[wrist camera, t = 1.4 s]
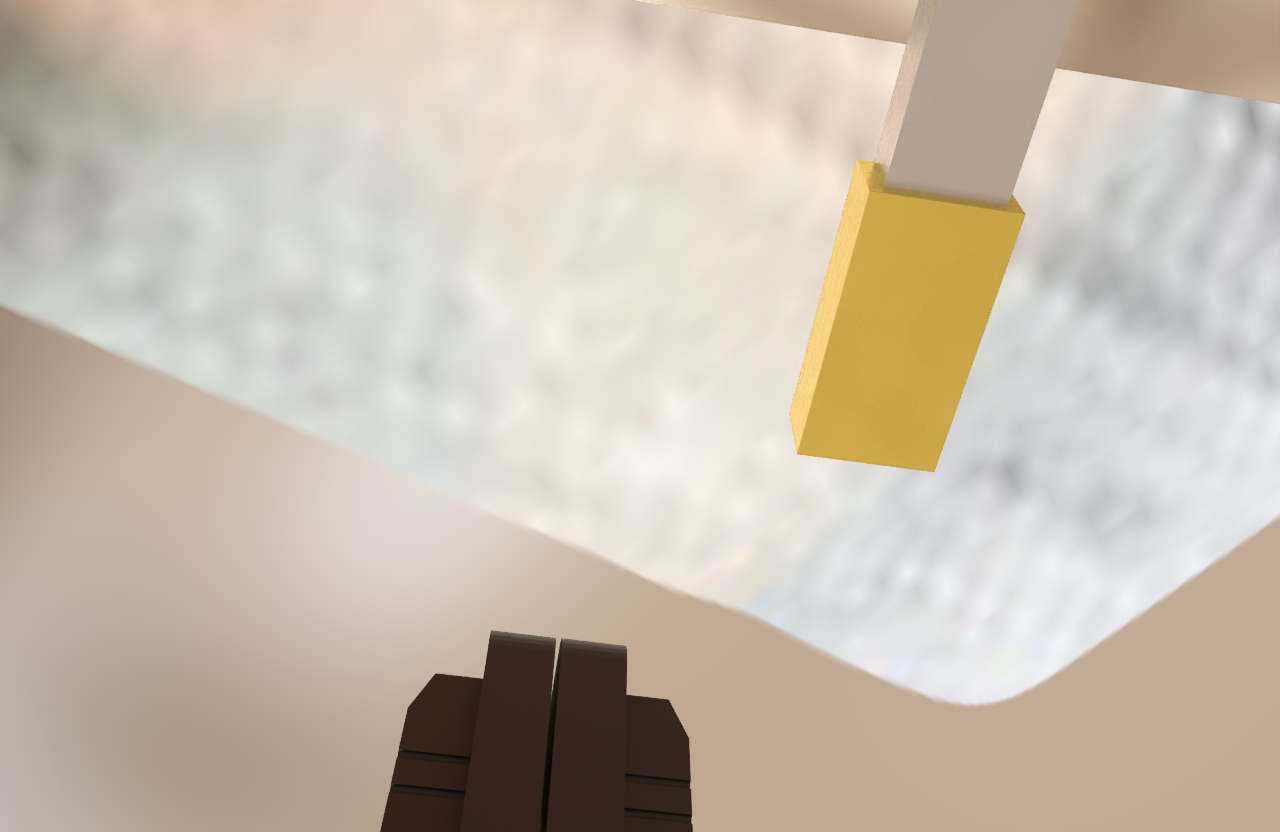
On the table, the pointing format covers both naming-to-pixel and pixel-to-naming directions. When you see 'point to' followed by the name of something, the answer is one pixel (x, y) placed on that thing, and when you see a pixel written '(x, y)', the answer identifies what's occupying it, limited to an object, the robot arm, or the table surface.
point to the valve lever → (927, 234)
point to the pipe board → (1088, 36)
